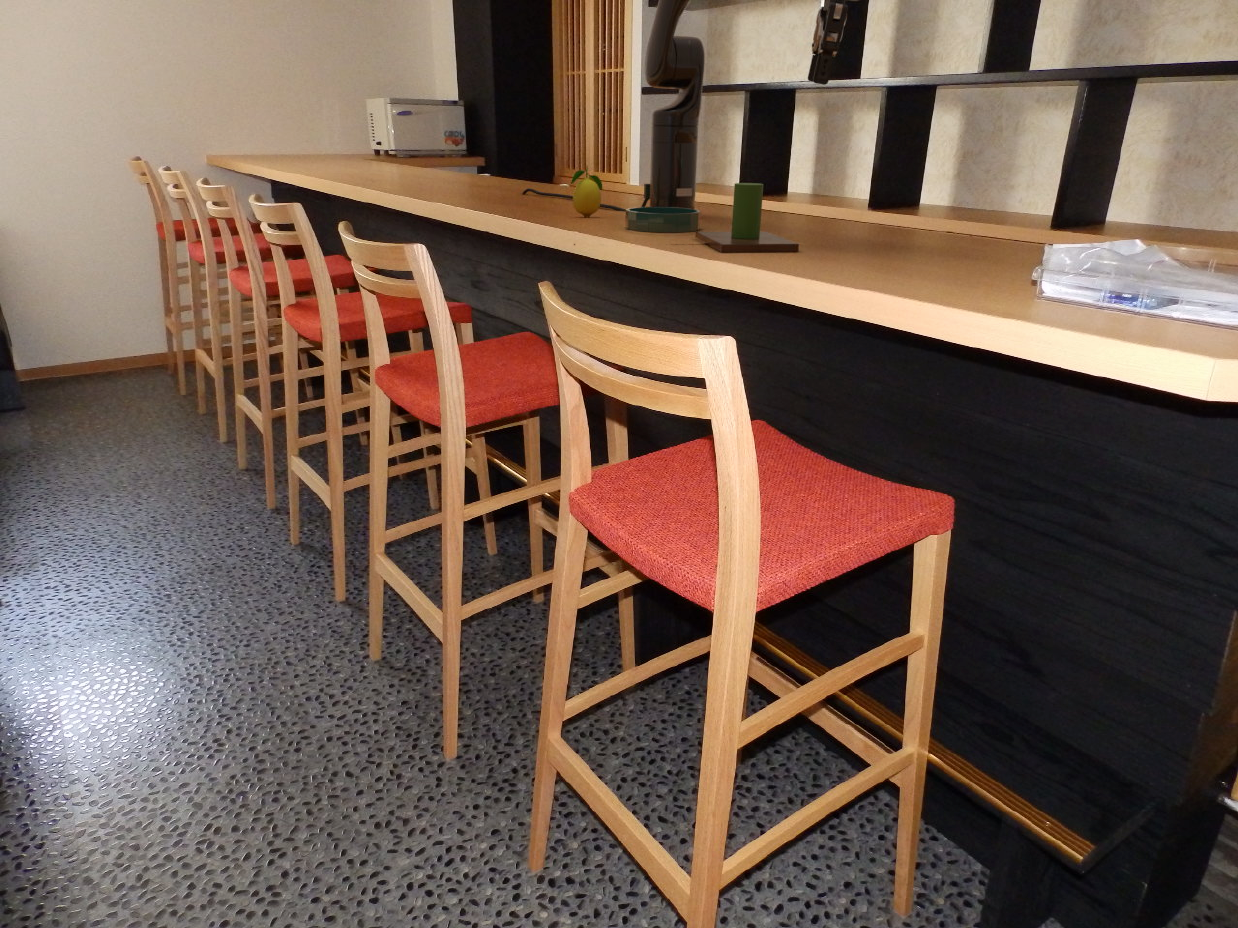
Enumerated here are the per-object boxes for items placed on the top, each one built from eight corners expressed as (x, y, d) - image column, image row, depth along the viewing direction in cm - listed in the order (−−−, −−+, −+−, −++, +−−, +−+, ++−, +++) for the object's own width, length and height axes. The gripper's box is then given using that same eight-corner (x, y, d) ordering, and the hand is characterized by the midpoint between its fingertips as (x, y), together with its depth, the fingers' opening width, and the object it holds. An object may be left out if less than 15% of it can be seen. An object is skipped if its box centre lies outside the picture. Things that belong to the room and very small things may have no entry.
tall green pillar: (727, 235, 134) (731, 183, 131) (754, 235, 134) (758, 183, 131) (735, 239, 130) (739, 184, 127) (763, 239, 130) (767, 185, 127)
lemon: (570, 220, 164) (570, 165, 160) (568, 217, 169) (568, 164, 166) (605, 220, 165) (605, 166, 161) (601, 217, 170) (602, 164, 166)
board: (695, 239, 139) (695, 231, 139) (764, 238, 141) (765, 231, 140) (721, 252, 124) (721, 244, 124) (798, 252, 126) (799, 243, 126)
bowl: (620, 226, 154) (620, 207, 153) (689, 226, 156) (690, 207, 155) (632, 235, 143) (633, 213, 141) (707, 234, 145) (708, 213, 143)
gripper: (813, -39, 127) (789, 78, 134) (823, -50, 114) (796, 80, 121) (863, -32, 126) (835, 85, 134) (878, -41, 114) (847, 88, 121)
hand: (816, 83), depth 127 cm, fingers open, 8 cm apart
